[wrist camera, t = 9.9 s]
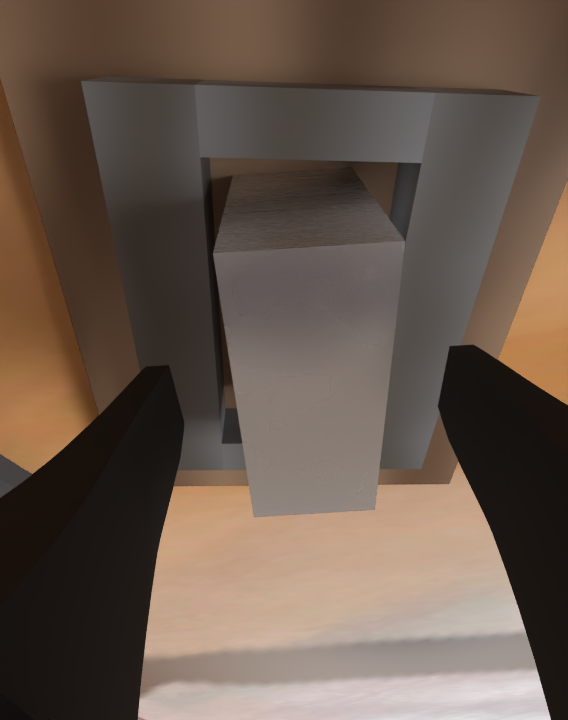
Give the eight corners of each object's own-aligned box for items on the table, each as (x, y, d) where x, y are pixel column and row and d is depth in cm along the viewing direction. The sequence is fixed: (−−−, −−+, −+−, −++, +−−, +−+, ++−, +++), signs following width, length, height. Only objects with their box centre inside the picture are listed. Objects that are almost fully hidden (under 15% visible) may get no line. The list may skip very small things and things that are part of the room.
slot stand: (626, -73, 11) (751, -115, 8) (439, 460, 23) (464, 519, 20) (-22, -107, 10) (-132, -166, 7) (128, 462, 22) (107, 523, 19)
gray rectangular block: (352, 167, 13) (405, 240, 8) (344, 380, 17) (375, 509, 13) (233, 175, 13) (213, 253, 8) (257, 386, 17) (253, 517, 13)
